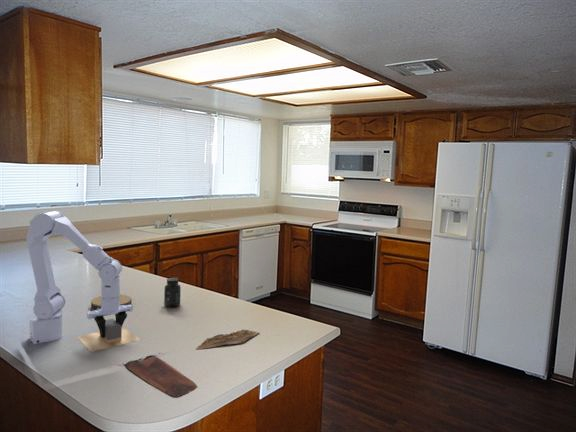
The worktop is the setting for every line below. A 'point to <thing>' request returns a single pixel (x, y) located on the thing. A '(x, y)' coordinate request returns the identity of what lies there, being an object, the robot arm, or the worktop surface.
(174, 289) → the supplement bottle
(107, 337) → the block
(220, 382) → the worktop surface
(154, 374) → the wooden tablet
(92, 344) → the oak board
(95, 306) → the wood log slice
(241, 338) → the wooden fragment
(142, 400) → the worktop surface
